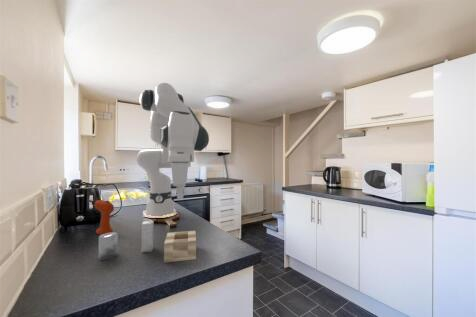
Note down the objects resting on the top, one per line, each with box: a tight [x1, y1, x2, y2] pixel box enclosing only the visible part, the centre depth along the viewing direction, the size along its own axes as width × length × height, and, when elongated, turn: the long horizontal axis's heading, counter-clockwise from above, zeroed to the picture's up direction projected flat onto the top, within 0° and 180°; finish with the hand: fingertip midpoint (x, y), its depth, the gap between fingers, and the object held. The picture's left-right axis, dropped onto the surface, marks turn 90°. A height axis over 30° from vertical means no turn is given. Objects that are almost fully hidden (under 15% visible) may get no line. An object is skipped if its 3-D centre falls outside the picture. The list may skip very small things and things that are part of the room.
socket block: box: [163, 230, 197, 264], centre depth 70 cm, size 10×10×6 cm
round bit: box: [98, 231, 119, 261], centre depth 68 cm, size 6×6×7 cm
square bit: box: [140, 220, 155, 253], centre depth 73 cm, size 3×3×10 cm
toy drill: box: [86, 199, 115, 235], centre depth 92 cm, size 5×19×15 cm, turn 65°
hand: (181, 196), depth 70 cm, fingers open, 8 cm apart
